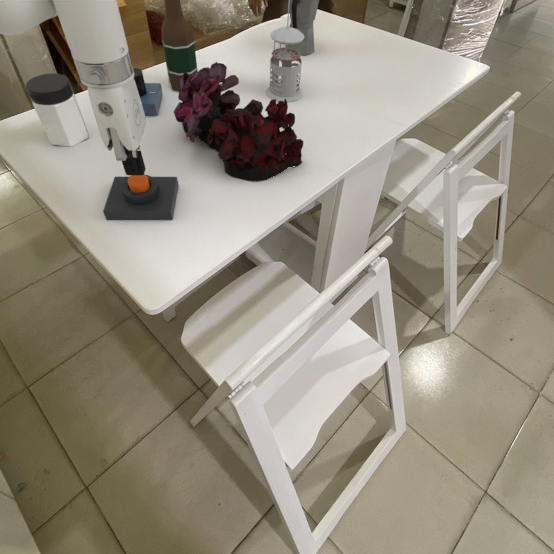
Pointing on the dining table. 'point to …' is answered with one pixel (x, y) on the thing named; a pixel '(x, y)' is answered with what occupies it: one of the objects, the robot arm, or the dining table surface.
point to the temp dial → (139, 81)
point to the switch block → (142, 200)
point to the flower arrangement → (237, 126)
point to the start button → (138, 183)
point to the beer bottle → (177, 44)
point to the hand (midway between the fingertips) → (136, 172)
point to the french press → (285, 65)
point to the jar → (57, 109)
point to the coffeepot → (303, 23)
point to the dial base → (152, 99)
